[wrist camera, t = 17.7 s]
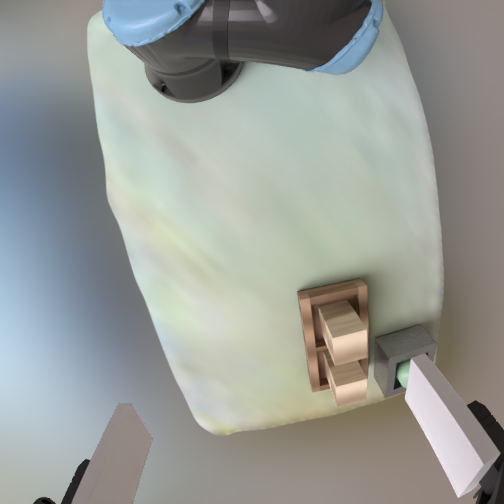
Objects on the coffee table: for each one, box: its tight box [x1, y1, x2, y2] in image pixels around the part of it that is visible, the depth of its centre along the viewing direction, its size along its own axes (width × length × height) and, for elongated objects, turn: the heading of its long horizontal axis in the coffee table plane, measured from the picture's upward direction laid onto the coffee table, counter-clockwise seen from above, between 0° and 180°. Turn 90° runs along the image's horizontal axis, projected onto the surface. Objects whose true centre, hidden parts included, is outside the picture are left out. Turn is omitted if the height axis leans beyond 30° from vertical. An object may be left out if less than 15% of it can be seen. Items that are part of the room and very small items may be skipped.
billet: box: [318, 300, 367, 366], centre depth 42 cm, size 5×5×10 cm
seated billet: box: [323, 350, 367, 408], centre depth 45 cm, size 5×5×10 cm
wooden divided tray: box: [297, 278, 369, 392], centre depth 48 cm, size 20×11×3 cm, turn 11°
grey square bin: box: [374, 325, 436, 398], centre depth 48 cm, size 10×10×7 cm
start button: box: [395, 358, 411, 388], centre depth 44 cm, size 6×6×3 cm
